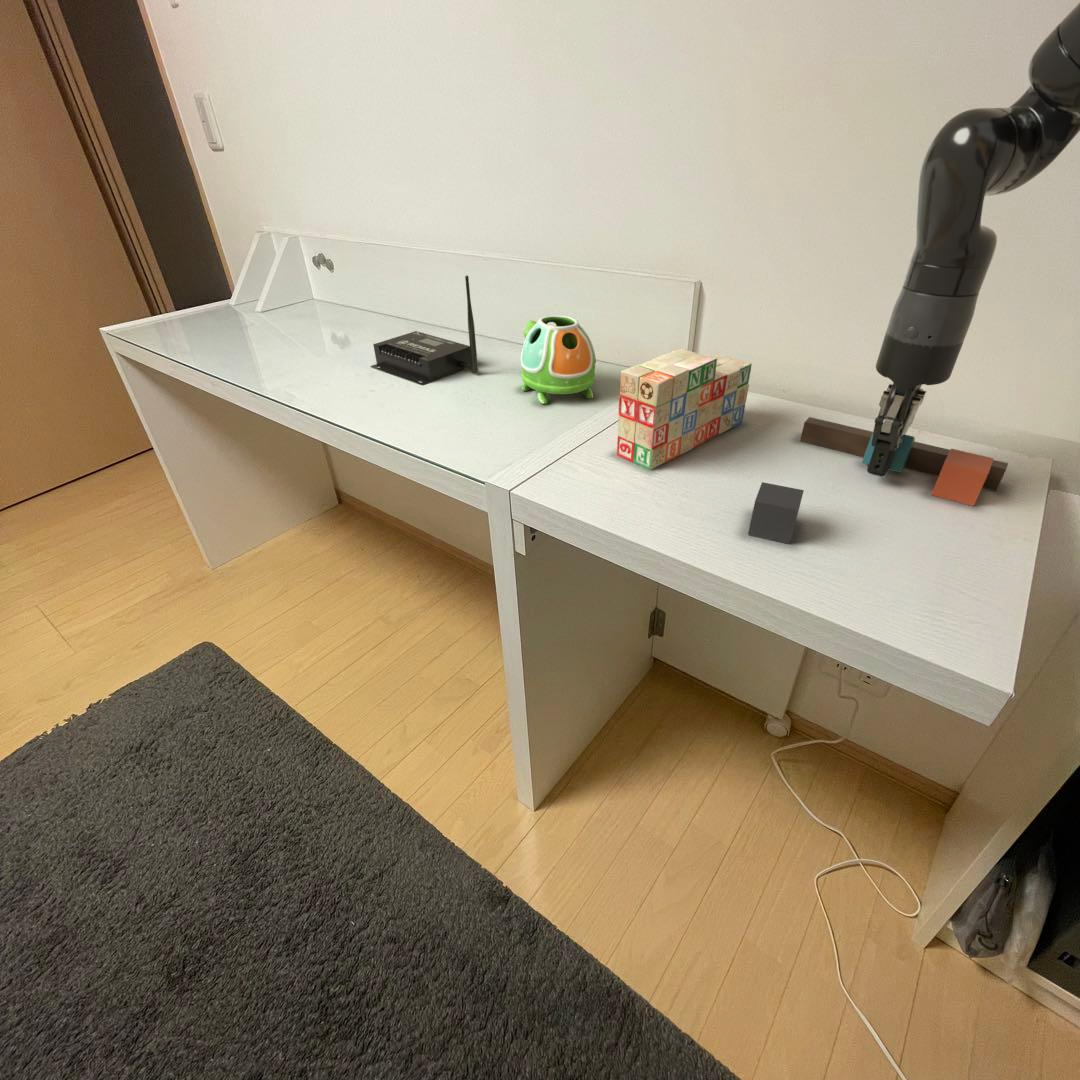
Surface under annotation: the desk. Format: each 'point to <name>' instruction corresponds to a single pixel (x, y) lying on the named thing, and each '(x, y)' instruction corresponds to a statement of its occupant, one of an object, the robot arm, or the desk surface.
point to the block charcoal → (775, 512)
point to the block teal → (900, 453)
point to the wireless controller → (427, 354)
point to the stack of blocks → (678, 404)
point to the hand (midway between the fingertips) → (877, 472)
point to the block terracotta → (962, 477)
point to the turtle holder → (557, 358)
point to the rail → (858, 440)
